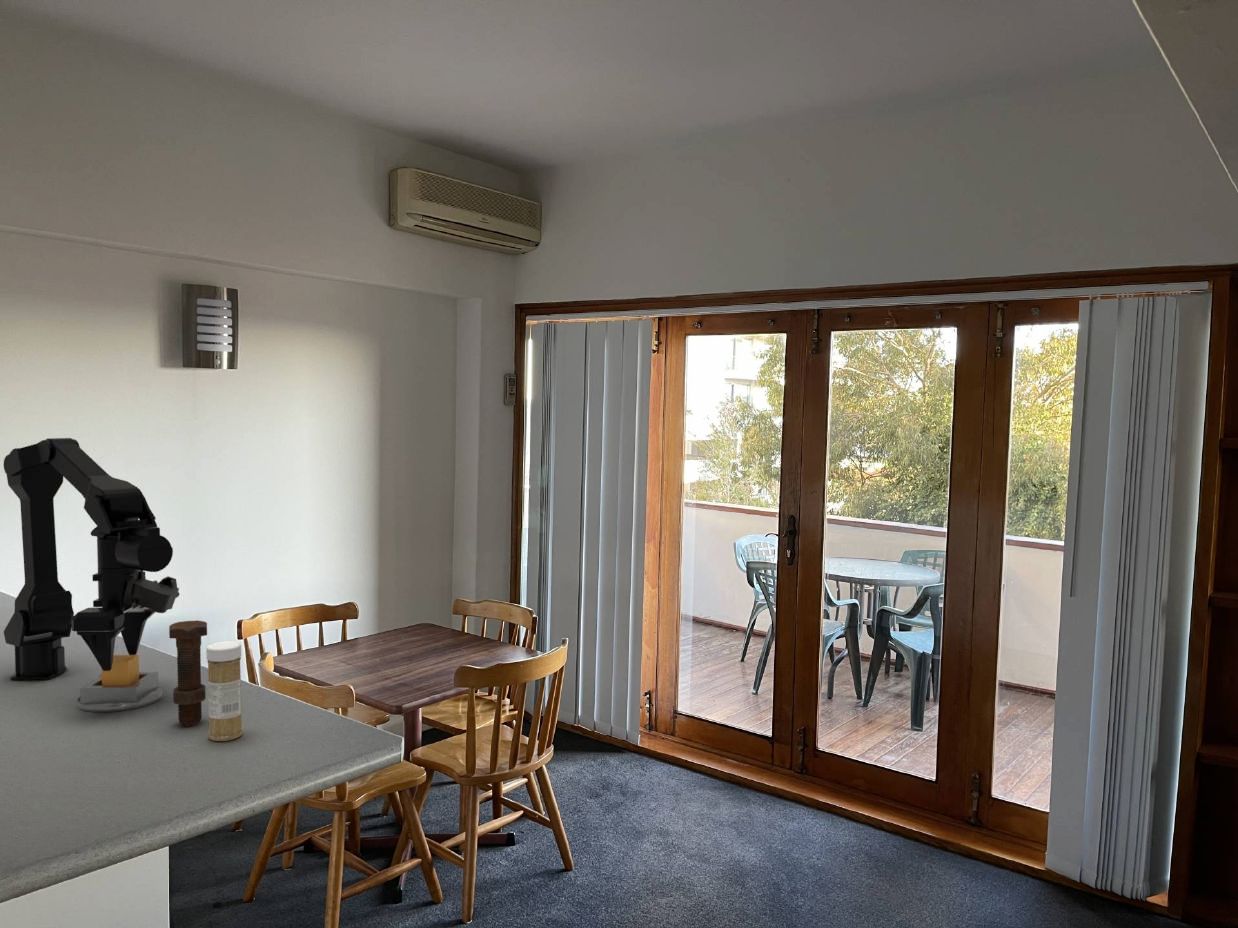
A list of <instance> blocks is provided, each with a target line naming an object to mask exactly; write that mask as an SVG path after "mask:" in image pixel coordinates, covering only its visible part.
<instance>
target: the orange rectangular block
mask: <svg viewBox="0 0 1238 928" xmlns="http://www.w3.org/2000/svg"><path fill="white" fill-rule="evenodd" d="M139 657H140V656H139V654H136V655H129V654H114V655H113V663H112V669H111V670H110V671H103V670H102V669H101V675H102V686H111V685H133V684H134V683H136V682H137V681H138V680H139V672H140V667H139V666H140V662H139V661H140V659H139Z"/></svg>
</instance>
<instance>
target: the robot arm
mask: <svg viewBox="0 0 1238 928" xmlns="http://www.w3.org/2000/svg"><path fill="white" fill-rule="evenodd" d="M3 470H4V473H5V475H6V480H7V486H8V487H9V488H10V489H11V491H12V492H13V493H14V494H15V495H16V497H17V498H18V499H19V502H20V505H19V506H20V520H21V539H22V553H23V571H24V574H23V575H24V585H23V586H22V588H21V590H20V591H19V593H18V595H17V596H16V598H15V600H14V613H13V614H12V616H11V617H10V619H9V621H8V623H7V624H6V626H5V628H4V630H3V636H4V641H5V644H8V645H12V646H14V663H15V664H14V665H15V666H14V667H15V669H14V670H15V671H14V672H15V673H14V674H13V675H11V676H10V677H9V680H12V681H22V680H26V681H27V680H51V679H52V678H53V677H56V676H57V675H59V674H60V673H61V674H62V673H63V672H65V671H66V670H67V669H68V666H67V665H66V662H65V661H66V658H65V657H66V655H65V653H66V652H65V646H64V645H62V638H69V637H70V636H71V632H76V635H78V636H80V637H81V638H82V640H83V641H84V642H85V644H86V645H87V647H88V648H89V650H90V651H91V653H92V654H93V656H94V658H95V660H96V661H97V663H98V664H99V666H100V668H101V671H102V670H103V671H110V670H111V669H112V663H113V655H115V654H114V653H115V645H116V639H117V636H119V635H120V633H121V637H122V640H123V643H124V646H125V649H126V651H127V653H128V655H138V650H139V647H140V644H141V640H142V636H143V632H144V630H145V628H146V627H145V626H146V623H147V621H148V620H149V619H150V618H151V617H152V616H153V615H154V614H156V613H158V614H164V613H166V612H167V611H168V610H172V609H173V607H174V604H175V601H176V599H177V598H178V597H180V592H179V590H180V587H178V583H177V578H174V577H172V576H167V575H166V576H165V577H163V578H162V579H161V580H160V581H159V582H158V580H149V579H147V578H146V572H150V573H157V572H160V571H162V570H164V569H165V568H167V566H169V564H170V563H171V561H172V557H173V555H174V554H173V553H174V548H173V547H172V544H171V542H170V540H169V539H168V538H166V537H165V536H163V535H161V529H160V527H159V526H158V525H157V522H156V519H157V518H156V516H155V514H154V513H153V511H152V510H151V508H150V505H149V503H148V502H147V499H146V497H145V495H144V494H143V492H142V491H141V489H140V488H139V487H138V486H136V485H134V484H133V483H131V482H129V481H127V480H123V479H121V478H117V477H116V478H115V477H113V476H111V475H110V474H109V473H107V471H105V470H104V469H103V468H102V467H101V465H99V464H98V463H97V462H96V461H95V460H94V459H93V458H92V457H91V456H89V455H88V454H87V453H86V451H84V450H83V449H82V448H81V446H80V444H79V441H78V440H77V439H75V438H71V437H61V438H60V437H59V438H58V437H55V438H51V437H50V438H49V437H48V438H46V439H43V440H40V441H39V442H37V443H34V444H30V445H27V446H22V447H17V448H16V447H15V448H12V450H10V452H9V453H8V454H7V455H6V456H5V457H4V458H3ZM64 479H65V480H66V481H67V482H68V483H69V484H70V485H71V486H73V488H75V490H76V491H78V492H79V494H81V496H82V497H83V498H84V503H83V509H84V511H85V512H86V513H87V515H88V516H89V518H90V519H91V520H92V521H93V523H94V524H95V525H96V527H94V528H93V529H92V530H91V531H90V535H91V537H96V546H97V547H96V550H97V552H96V554H97V572H96V573H93V574H92V575H91V576H92V582H97V590H98V591H97V594H98V598H96V599H94V600H92V607H87V608H84V609H82V610H80V611H78V612H76V614H75V612H74V608H73V600H72V599H73V594H72V593H71V591H70V590H66V589H65V588H64V587H63V585H62V584H61V582H59V577H58V574H59V573H58V559H57V556H58V555H57V540H56V539H57V538H56V524H55V523H56V522H55V520H56V519H55V505H54V504H55V502H54V499H55V496H56V495H57V494H58V492H59V490H60V488H61V487H62V485H63V483H64ZM74 614H75V615H74Z"/></svg>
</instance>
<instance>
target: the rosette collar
mask: <svg viewBox="0 0 1238 928" xmlns="http://www.w3.org/2000/svg"><path fill="white" fill-rule="evenodd" d="M162 697H163V689H162V688H161V687H160V686H159V672H158V671H147V672H145V671H144V672H143V671H142V672H141V671H139V680H138V681H137V682H136V683H134V684H133V685H111V686H102V674H101V675H99V676H97V677H95V678H94V679H93V680H91V681H89V682H87V683H86V684H84V685H83V686H80V688H79V697H78V698H77V701H76V702H77V703H76V704H77V708H78V709H79V710H80V711H82V712H83V711H84V712H89V713H115V712H116V713H117V712H123V711H124V712H125V711H131V710H135V709H138V708H143V707H146V706H149V705H153V704H154V703H157V702H158V701H160V700H161V699H162Z"/></svg>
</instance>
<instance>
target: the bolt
mask: <svg viewBox="0 0 1238 928" xmlns="http://www.w3.org/2000/svg"><path fill="white" fill-rule="evenodd" d="M168 631H169V632H168V633H169V639H175V647H176V655H177V656H176V657H177V658H176V662H177V663H176V664H177V665H176V666H177V667H176V668H177V674H176V675H177V686H176V687H175V688H173V690H172V691H173V692H172V696H173V697H172V698H173V703H174V704H176V705H177V706H178V707H177V709H178V710H177V711H178V715H177V716H178V717H177V720H178V723H179V725H180V726H181V727H183V726H186V727H187V728H188V727H193V726H195V725H197V724H199V723H200V722H201V721H202V715H203V714H202V702H204V701H205V700H206V685H204V684H202V675H201V673H202V671H201V670H202V669H201V667H202V666H201V665H202V664H201V663H202V661H201V660H202V659H201V654H202V653H201V652H202V650H201V646H202V637H205V636H208V622H206V621H203V620H186V621H185V620H184V621H178V622H175V623H172V624H170V625H169V629H168Z"/></svg>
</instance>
